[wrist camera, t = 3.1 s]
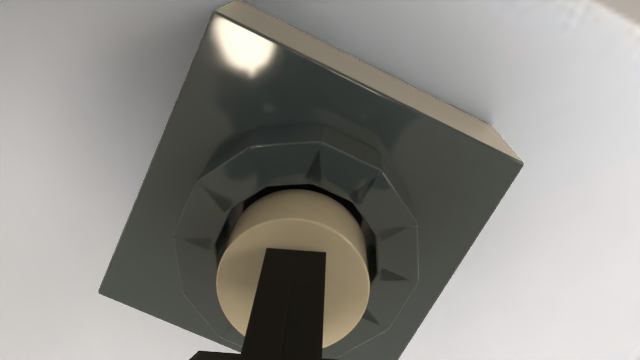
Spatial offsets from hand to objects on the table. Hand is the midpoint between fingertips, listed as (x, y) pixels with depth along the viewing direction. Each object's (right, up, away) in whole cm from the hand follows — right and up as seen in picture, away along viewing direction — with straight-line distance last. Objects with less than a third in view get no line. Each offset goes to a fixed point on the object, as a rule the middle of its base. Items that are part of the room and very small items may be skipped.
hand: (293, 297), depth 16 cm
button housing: (0, +3, +7) cm, 8 cm away
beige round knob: (0, +1, +2) cm, 2 cm away
